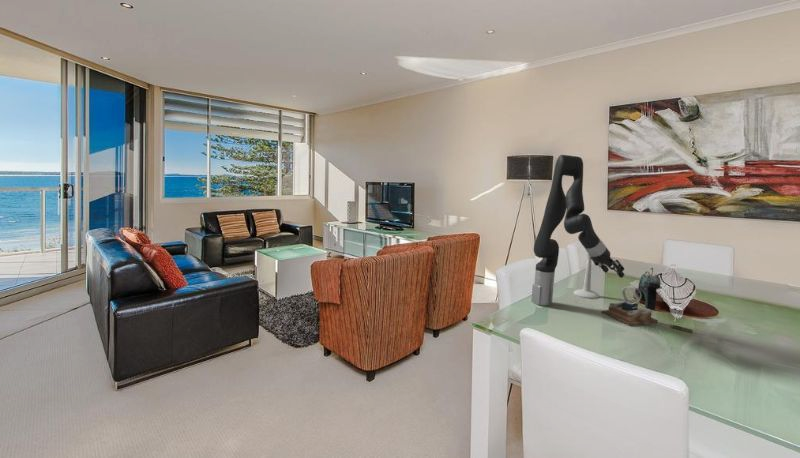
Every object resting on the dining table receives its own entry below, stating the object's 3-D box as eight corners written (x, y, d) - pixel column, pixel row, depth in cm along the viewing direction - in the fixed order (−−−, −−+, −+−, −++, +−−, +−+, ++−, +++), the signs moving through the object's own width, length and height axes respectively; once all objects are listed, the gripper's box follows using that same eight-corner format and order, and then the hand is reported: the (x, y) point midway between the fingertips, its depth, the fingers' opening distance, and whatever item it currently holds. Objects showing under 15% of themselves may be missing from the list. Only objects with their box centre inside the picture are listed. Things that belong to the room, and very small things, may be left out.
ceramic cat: (658, 311, 185) (663, 272, 182) (643, 310, 187) (648, 270, 184) (646, 299, 204) (651, 263, 201) (633, 297, 206) (637, 262, 203)
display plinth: (630, 326, 166) (631, 314, 165) (601, 313, 181) (602, 302, 181) (657, 322, 171) (659, 311, 170) (627, 310, 186) (628, 299, 185)
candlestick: (568, 291, 215) (573, 239, 210) (590, 291, 216) (595, 239, 212) (582, 298, 202) (587, 243, 198) (604, 298, 204) (610, 244, 199)
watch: (635, 313, 170) (638, 290, 169) (617, 308, 177) (620, 285, 176) (641, 311, 174) (644, 288, 172) (623, 306, 180) (626, 283, 179)
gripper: (615, 246, 159) (633, 271, 164) (589, 240, 172) (607, 264, 177) (604, 259, 158) (622, 284, 163) (579, 252, 171) (596, 275, 176)
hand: (614, 273), depth 170 cm, fingers open, 8 cm apart
